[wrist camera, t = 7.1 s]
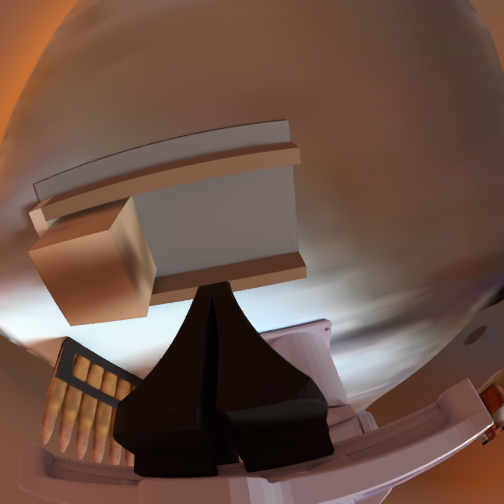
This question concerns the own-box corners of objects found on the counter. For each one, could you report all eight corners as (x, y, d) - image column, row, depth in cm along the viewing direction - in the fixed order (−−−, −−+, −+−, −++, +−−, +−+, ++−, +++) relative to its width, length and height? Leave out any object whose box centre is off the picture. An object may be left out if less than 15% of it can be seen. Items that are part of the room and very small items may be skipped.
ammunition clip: (62, 343, 24) (32, 440, 14) (67, 335, 24) (36, 438, 13) (140, 387, 29) (134, 480, 19) (149, 382, 29) (143, 479, 18)
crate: (156, 269, 20) (146, 316, 16) (90, 282, 20) (70, 326, 16) (131, 195, 17) (109, 229, 13) (60, 215, 17) (28, 251, 13)
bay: (298, 273, 23) (306, 292, 21) (93, 308, 22) (86, 328, 20) (286, 119, 16) (297, 123, 14) (36, 182, 16) (19, 194, 14)
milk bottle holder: (493, 381, 63) (515, 420, 47) (503, 385, 77) (520, 414, 60) (450, 418, 71) (468, 456, 54) (470, 414, 84) (485, 444, 68)
